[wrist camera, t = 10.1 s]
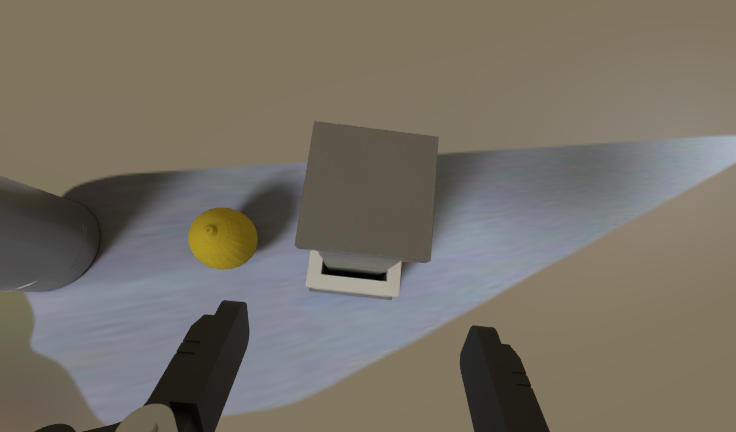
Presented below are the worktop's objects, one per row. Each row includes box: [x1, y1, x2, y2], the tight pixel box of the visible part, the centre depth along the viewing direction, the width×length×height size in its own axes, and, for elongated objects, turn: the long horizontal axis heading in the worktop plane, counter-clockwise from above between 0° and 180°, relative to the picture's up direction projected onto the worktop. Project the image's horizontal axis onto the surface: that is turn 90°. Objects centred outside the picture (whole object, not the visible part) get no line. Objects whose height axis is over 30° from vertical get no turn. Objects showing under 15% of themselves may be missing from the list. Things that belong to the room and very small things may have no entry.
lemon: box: [189, 208, 258, 270], centre depth 31 cm, size 6×6×8 cm
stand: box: [306, 250, 411, 300], centre depth 30 cm, size 8×8×12 cm
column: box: [295, 121, 438, 276], centre depth 21 cm, size 5×5×17 cm
